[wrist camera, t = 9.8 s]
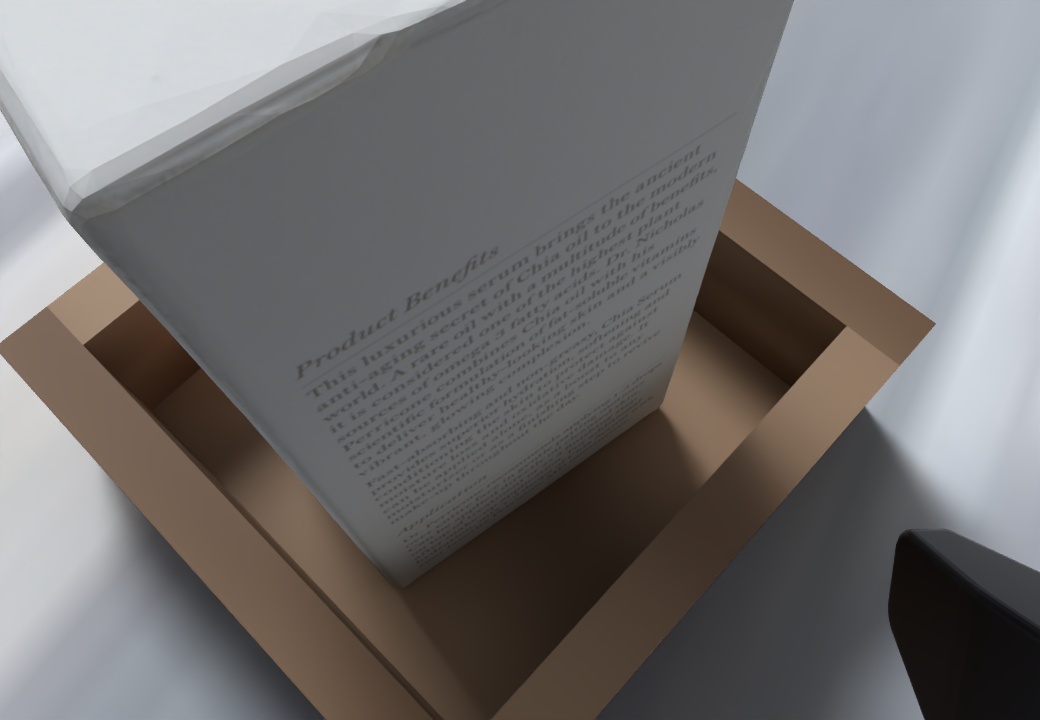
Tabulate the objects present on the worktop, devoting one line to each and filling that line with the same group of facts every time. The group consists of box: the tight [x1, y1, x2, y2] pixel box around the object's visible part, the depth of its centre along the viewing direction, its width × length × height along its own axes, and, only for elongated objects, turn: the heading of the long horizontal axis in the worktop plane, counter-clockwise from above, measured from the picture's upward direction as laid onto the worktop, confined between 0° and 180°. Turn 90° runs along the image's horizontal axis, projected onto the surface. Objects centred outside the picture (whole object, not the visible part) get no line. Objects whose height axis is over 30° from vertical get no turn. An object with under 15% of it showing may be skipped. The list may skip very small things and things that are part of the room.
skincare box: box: [0, 0, 794, 588], centre depth 12 cm, size 6×4×12 cm
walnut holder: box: [0, 179, 936, 720], centre depth 16 cm, size 11×11×4 cm
